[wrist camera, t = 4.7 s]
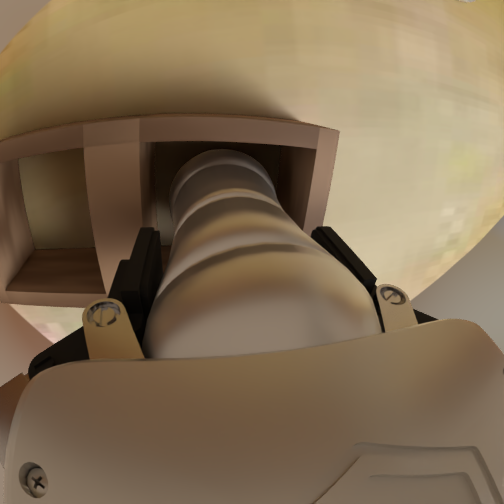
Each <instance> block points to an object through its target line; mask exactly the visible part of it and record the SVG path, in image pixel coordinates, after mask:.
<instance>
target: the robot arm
mask: <svg viewBox="0 0 504 504" xmlns="http://www.w3.org/2000/svg"><path fill="white" fill-rule="evenodd" d="M458 1H461V2H473V1H475V0H458ZM311 238H312V239H313V240H314V241H315V242H317V243H318V244H319V245H320V246H321V247H323V248H324V249H325V250H326V251H327V252H328V253H330V254H331V255H332V256H333V257H334V258H336V259H337V260H338V261H339V262H340V263H341V264H343V265H344V266H345V267H346V268H348V270H349V271H350V272H351V273H352V274H353V275H354V276H355V277H356V278H357V279H358V281H359V282H360V283H361V284H362V285H363V286H364V287H365V288H366V290H367V291H368V293H369V295H370V296H371V298H372V299H373V303H374V306H375V309H376V313H377V316H378V320H379V323H380V327H381V331H382V333H379V334H374V335H370V336H365V337H360V338H355V339H349V340H344V341H339V342H334V343H328V344H323V345H316V346H310V347H303V348H296V349H288V350H280V351H271V352H260V353H250V354H239V355H226V356H211V357H190V358H144V355H143V353H142V341H143V337H144V332H145V328H146V323H147V318H148V316H149V313H150V311H151V307H152V304H153V302H154V299H155V296H156V293H157V290H158V288H159V285H160V282H161V280H162V277H163V266H162V255H161V243H160V232H159V231H155V228H154V227H141V228H140V230H139V233H138V235H137V238H136V241H135V244H134V247H133V250H132V253H131V256H130V259H123V260H120V262H119V265H118V268H117V271H116V273H115V276H114V279H113V282H112V285H111V288H110V291H109V294H108V297H107V298H104V299H99V300H96V301H94V302H92V303H91V304H89V305H88V306H87V307H86V308H85V310H84V312H83V314H82V322H83V326H82V327H81V328H79V329H78V330H76V331H74V332H73V333H71V334H70V335H68V336H66V337H65V338H63V339H62V340H60V341H58V342H57V343H55V344H54V345H52V346H51V347H49V348H47V349H46V350H44V351H43V352H41V353H40V354H38V355H37V356H36V357H35V358H34V359H33V360H32V361H31V363H30V366H29V369H28V373H27V374H26V375H24V374H23V373H20V374H19V375H17V376H16V377H14V378H13V379H11V380H10V381H8V382H7V383H5V384H4V385H2V386H1V387H0V462H1V464H2V466H3V468H4V487H3V490H4V491H3V495H4V496H3V497H4V498H3V503H4V504H504V354H503V353H502V351H501V350H500V349H499V348H498V346H497V345H496V344H495V342H493V340H492V339H491V338H490V337H489V336H488V334H487V333H486V332H485V331H484V330H483V329H482V328H481V327H480V326H479V325H477V324H476V323H474V322H471V321H467V320H462V319H442V320H438V319H436V318H433V317H431V316H429V315H426V314H424V313H422V312H419V311H417V310H415V309H413V308H412V305H411V303H410V300H409V298H408V296H407V294H406V293H405V292H404V291H403V290H401V289H400V288H398V287H396V286H393V285H390V284H382V285H379V286H378V287H377V286H376V285H375V282H376V280H377V278H376V277H375V276H374V275H373V274H372V272H371V271H370V270H369V269H368V268H367V267H366V266H365V264H364V263H363V262H362V261H361V260H360V259H359V258H358V256H357V255H356V254H355V253H354V252H353V251H352V250H351V249H350V248H349V246H348V245H347V244H346V243H345V242H344V241H343V240H342V239H341V238H340V237H339V236H338V235H337V233H336V232H335V231H334V230H333V229H332V228H331V227H328V226H317V227H316V229H315V230H312V233H311Z"/></svg>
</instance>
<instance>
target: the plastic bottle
mask: <svg viewBox="0 0 504 504" xmlns="http://www.w3.org/2000/svg"><path fill="white" fill-rule="evenodd" d="M169 205H170V212H171V217H172V221H173V225H174V238H173V242H172V247H171V252H170V256H169V261H168V264H167V266H166V269H165V272H164V274H163V277H162V280H161V282H160V285H159V288H158V290H157V293H156V296H155V299H154V302H153V304H152V307H151V311H150V313H149V316H148V318H147V323H146V328H145V332H144V337H143V341H142V353H143V355H144V358H190V357H211V356H226V355H239V354H250V353H260V352H271V351H280V350H288V349H296V348H303V347H310V346H316V345H323V344H328V343H334V342H339V341H344V340H349V339H355V338H360V337H365V336H370V335H374V334H379V333H382V331H381V327H380V323H379V320H378V316H377V313H376V309H375V306H374V303H373V299H372V298H371V296H370V295H369V293H368V291H367V290H366V288H365V287H364V286H363V285H362V284H361V283H360V282H359V281H358V279H357V278H356V277H355V276H354V275H353V274H352V273H351V272H350V271H349V270H348V268H346V267H345V266H344V265H343V264H341V263H340V262H339V261H338V260H337V259H336V258H334V257H333V256H332V255H331V254H330V253H328V252H327V251H326V250H325V249H324V248H323V247H321V246H320V245H319V244H318V243H317V242H315V241H314V240H313V239H312V238H311V237H309V236H308V235H307V234H306V233H305V232H303V231H302V230H301V229H300V228H299V227H298V226H297V224H296V223H295V222H294V221H293V220H292V219H291V218H290V217H289V215H288V214H286V212H285V211H284V210H283V209H282V207H281V205H280V203H279V202H278V200H277V196H276V192H275V189H274V186H273V183H272V181H271V179H270V177H269V175H268V173H267V171H266V170H265V169H264V167H263V166H262V165H261V164H260V163H259V162H258V161H256V160H255V159H254V158H252V157H250V156H248V155H246V154H244V153H242V152H238V151H235V150H228V149H215V150H209V151H206V152H203V153H200V154H199V155H197V156H195V157H193V158H192V159H190V160H189V161H188V162H187V163H186V164H184V165H183V166H182V167H181V169H180V170H179V171H178V173H177V174H176V175H175V177H174V180H173V182H172V184H171V188H170V192H169Z"/></svg>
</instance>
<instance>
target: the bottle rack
mask: <svg viewBox="0 0 504 504" xmlns="http://www.w3.org/2000/svg"><path fill="white" fill-rule="evenodd" d="M339 133H340V131H338V130H334V129H330V128H326V127H322V126H318V125H314V124H310V123H305V122H301V121H294V120H286V119H278V118H268V117H258V116H246V115H230V114H200V113H178V114H149V115H133V116H121V117H111V118H103V119H95V120H87V121H81V122H75V123H69V124H63V125H58V126H53V127H48V128H43V129H39V130H34V131H30V132H26V133H22V134H19V135H15V136H11V137H8V138H5V139H2V140H0V302H1V303H8V304H21V305H36V306H53V307H78V308H86V307H87V306H88V305H89V304H91V303H92V302H94V301H96V300H99V299H104V298H107V297H108V294H109V291H110V288H111V285H112V282H113V279H114V276H115V273H116V271H117V268H118V265H119V262H120V260H123V259H130V256H131V253H132V250H133V247H134V244H135V241H136V238H137V235H138V233H139V230H140V228H141V227H154V228H155V231H158V228H157V210H156V183H155V142H159V141H225V142H247V143H262V144H275V145H282V146H281V154H280V162H279V170H278V178H277V186H276V196H277V200H278V202H279V203H280V205H281V207H282V209H283V210H284V211H285V212H286V214H288V215H289V217H290V218H291V219H292V220H293V221H294V222H295V223H296V224H297V226H298V227H299V228H300V229H301V230H302V231H303V232H305V233H306V234H307V235H308V236H309V237H311V233H312V230H315V229H316V227H317V226H322V225H323V220H324V216H325V211H326V206H327V201H328V196H329V191H330V186H331V180H332V175H333V169H334V163H335V158H336V152H337V146H338V139H339ZM76 148H84V163H85V176H86V186H87V195H88V203H89V211H90V218H91V224H92V230H93V236H94V241H95V247H96V248H72V249H41V250H35V248H34V244H33V240H32V236H31V232H30V228H29V224H28V219H27V215H26V210H25V205H24V199H23V194H22V187H21V180H20V173H19V164H18V159H19V158H24V157H29V156H34V155H39V154H44V153H50V152H56V151H62V150H69V149H76ZM171 247H172V246H161V255H162V266H163V274H164V272H165V269H166V266H167V264H168V261H169V256H170V252H171Z"/></svg>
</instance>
